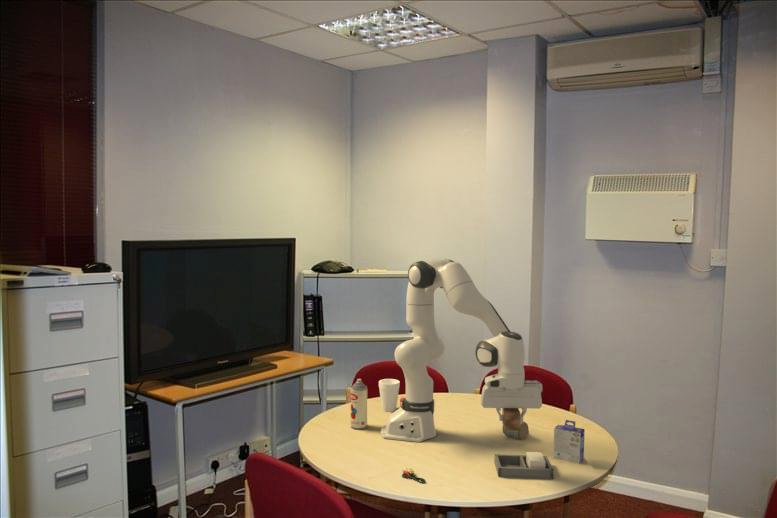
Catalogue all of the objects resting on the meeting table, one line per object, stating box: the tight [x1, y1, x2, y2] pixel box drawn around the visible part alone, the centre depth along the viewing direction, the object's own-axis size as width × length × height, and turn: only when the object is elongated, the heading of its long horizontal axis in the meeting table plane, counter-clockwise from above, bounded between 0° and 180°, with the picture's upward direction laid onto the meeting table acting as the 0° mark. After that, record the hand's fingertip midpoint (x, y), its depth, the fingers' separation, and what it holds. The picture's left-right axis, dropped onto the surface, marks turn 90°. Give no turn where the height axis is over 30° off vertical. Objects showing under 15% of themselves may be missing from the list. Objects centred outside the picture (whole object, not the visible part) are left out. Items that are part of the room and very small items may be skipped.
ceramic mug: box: [502, 420, 530, 440], centre depth 242 cm, size 11×8×8 cm
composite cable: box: [401, 467, 426, 484], centre depth 201 cm, size 10×5×2 cm, turn 33°
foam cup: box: [378, 378, 401, 413], centre depth 274 cm, size 10×9×13 cm
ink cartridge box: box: [552, 419, 585, 465], centre depth 216 cm, size 10×6×14 cm, turn 58°
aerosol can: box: [350, 378, 368, 431], centre depth 250 cm, size 7×7×20 cm
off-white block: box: [525, 451, 546, 468], centre depth 206 cm, size 5×8×5 cm, turn 176°
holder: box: [493, 453, 555, 480], centre depth 206 cm, size 18×12×4 cm, turn 86°
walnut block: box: [501, 408, 521, 431], centre depth 205 cm, size 5×8×6 cm, turn 176°
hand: (511, 420), depth 205 cm, fingers closed on walnut block, 5 cm apart
